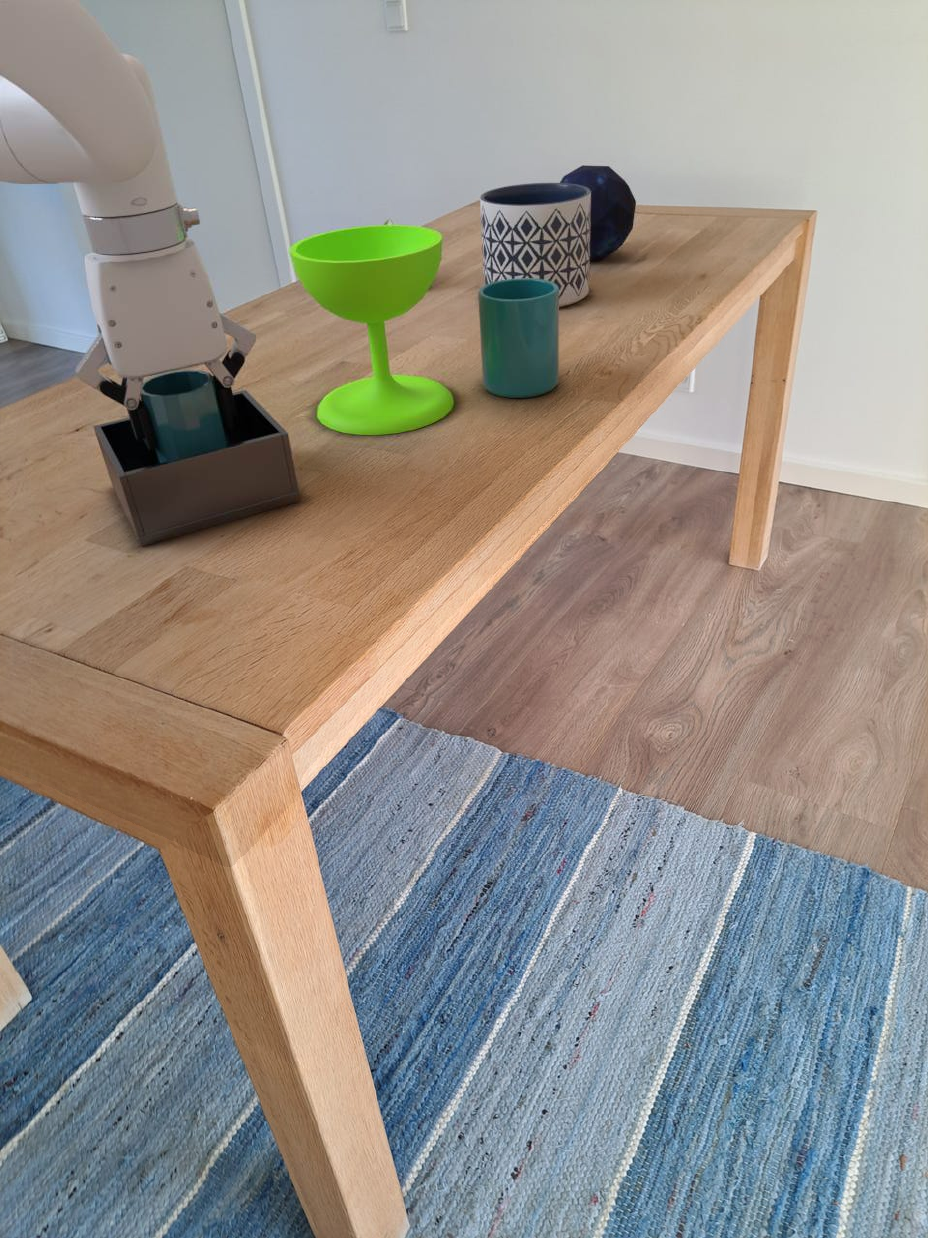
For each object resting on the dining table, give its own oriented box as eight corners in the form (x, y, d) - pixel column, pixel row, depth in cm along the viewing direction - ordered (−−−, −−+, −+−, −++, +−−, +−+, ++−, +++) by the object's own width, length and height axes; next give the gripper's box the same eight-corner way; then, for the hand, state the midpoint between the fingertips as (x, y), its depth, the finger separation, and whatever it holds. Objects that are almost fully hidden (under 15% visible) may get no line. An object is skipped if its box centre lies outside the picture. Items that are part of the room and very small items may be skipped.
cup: (571, 365, 110) (572, 271, 103) (548, 402, 101) (547, 301, 94) (502, 361, 113) (498, 269, 106) (473, 397, 103) (467, 299, 97)
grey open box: (141, 547, 80) (118, 476, 75) (114, 490, 89) (93, 425, 85) (300, 500, 85) (287, 432, 81) (259, 452, 95) (245, 389, 90)
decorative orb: (608, 241, 138) (634, 146, 137) (522, 235, 145) (547, 144, 144) (633, 279, 151) (657, 192, 150) (553, 272, 157) (576, 189, 157)
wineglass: (369, 374, 112) (349, 221, 101) (479, 391, 105) (470, 229, 94) (288, 421, 101) (257, 256, 90) (404, 444, 94) (385, 267, 83)
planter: (468, 308, 132) (462, 204, 124) (505, 279, 144) (502, 181, 135) (571, 314, 126) (572, 205, 118) (601, 283, 138) (604, 182, 130)
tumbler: (173, 495, 82) (147, 402, 77) (157, 469, 87) (131, 380, 82) (242, 476, 84) (221, 385, 79) (223, 452, 89) (202, 364, 84)
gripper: (226, 208, 79) (265, 400, 89) (20, 241, 73) (87, 444, 83) (251, 222, 73) (289, 425, 84) (31, 259, 67) (101, 473, 77)
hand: (188, 433), depth 83 cm, fingers closed on tumbler, 6 cm apart
